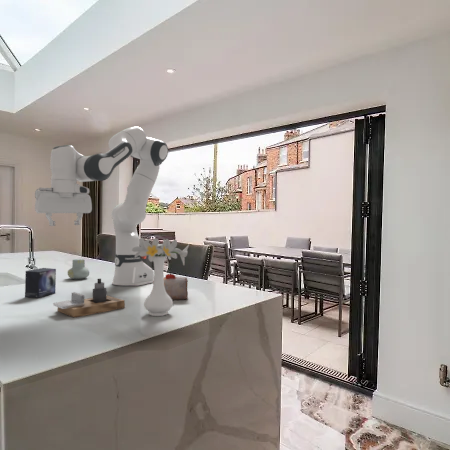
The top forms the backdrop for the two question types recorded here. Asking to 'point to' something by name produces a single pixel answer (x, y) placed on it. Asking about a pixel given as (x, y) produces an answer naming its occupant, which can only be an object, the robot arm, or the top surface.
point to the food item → (176, 287)
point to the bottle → (99, 292)
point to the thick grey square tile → (71, 301)
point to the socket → (94, 307)
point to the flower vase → (159, 272)
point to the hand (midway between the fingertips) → (65, 225)
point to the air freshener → (78, 269)
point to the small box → (40, 282)
